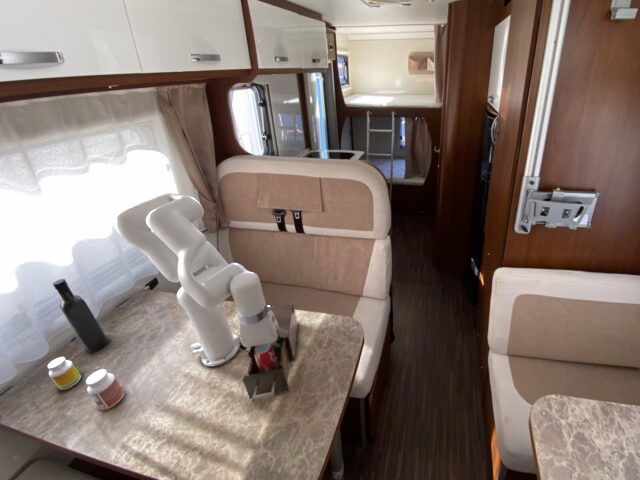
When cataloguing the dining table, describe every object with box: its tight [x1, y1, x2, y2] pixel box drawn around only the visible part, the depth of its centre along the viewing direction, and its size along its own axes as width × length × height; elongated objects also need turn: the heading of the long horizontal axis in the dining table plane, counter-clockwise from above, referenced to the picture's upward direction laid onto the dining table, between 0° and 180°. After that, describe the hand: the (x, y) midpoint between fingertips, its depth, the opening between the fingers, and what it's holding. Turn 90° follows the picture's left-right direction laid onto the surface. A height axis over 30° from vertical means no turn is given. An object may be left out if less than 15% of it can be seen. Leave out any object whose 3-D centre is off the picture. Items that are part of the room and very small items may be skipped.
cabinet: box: [272, 302, 299, 361], centre depth 107 cm, size 16×13×11 cm
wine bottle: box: [52, 278, 109, 353], centre depth 107 cm, size 6×6×30 cm
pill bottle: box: [85, 368, 125, 411], centre depth 91 cm, size 6×6×11 cm
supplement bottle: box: [47, 356, 82, 391], centre depth 98 cm, size 5×5×10 cm
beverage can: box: [254, 343, 280, 373], centre depth 94 cm, size 6×6×12 cm
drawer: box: [242, 339, 291, 403], centre depth 94 cm, size 19×11×9 cm, turn 11°
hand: (266, 354), depth 94 cm, fingers closed on beverage can, 6 cm apart
